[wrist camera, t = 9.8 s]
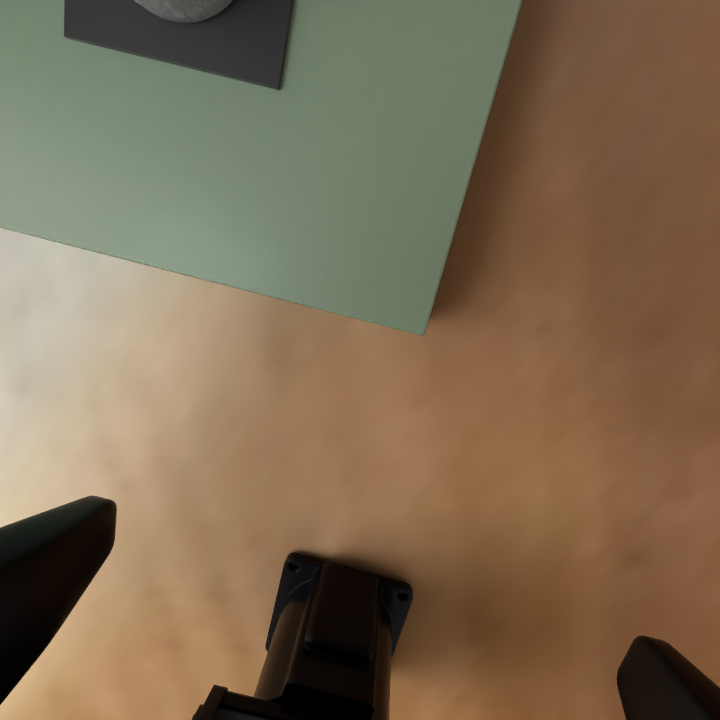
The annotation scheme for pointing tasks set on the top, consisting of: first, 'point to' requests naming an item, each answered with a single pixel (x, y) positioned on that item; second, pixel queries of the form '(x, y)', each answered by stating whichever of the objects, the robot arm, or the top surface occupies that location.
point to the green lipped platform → (254, 140)
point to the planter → (184, 9)
